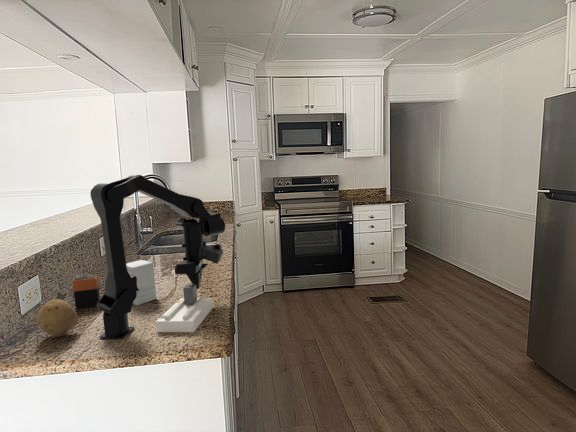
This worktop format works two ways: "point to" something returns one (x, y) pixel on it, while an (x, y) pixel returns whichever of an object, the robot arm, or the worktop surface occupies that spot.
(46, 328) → the tan rounded lump
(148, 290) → the supplement box
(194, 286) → the switch knob
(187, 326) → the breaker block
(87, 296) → the battery
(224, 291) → the worktop surface
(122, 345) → the worktop surface
